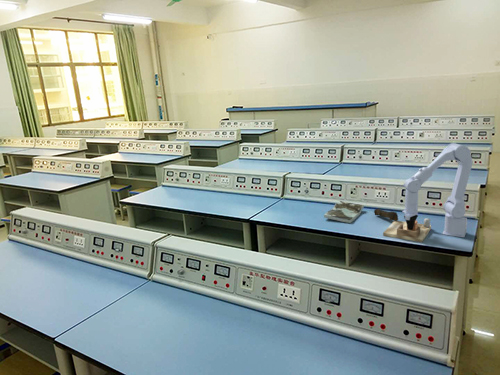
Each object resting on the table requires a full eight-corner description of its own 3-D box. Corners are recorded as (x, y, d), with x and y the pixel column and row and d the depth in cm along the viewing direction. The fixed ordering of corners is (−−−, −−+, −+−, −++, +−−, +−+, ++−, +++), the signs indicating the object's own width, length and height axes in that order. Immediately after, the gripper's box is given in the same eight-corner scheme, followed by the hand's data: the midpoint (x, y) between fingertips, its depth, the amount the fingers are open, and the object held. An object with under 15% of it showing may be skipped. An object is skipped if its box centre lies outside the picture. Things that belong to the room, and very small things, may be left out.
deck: (431, 229, 189) (431, 219, 188) (421, 242, 174) (422, 232, 173) (394, 223, 200) (394, 215, 199) (383, 236, 184) (383, 227, 183)
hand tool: (374, 215, 214) (373, 208, 213) (380, 214, 215) (379, 206, 214) (393, 222, 196) (392, 214, 195) (400, 221, 196) (399, 212, 196)
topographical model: (350, 224, 205) (350, 215, 203) (324, 221, 213) (324, 212, 212) (363, 210, 225) (363, 202, 224) (339, 208, 234) (339, 200, 232)
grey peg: (430, 226, 188) (430, 218, 187) (429, 227, 185) (429, 220, 184) (424, 225, 189) (424, 217, 188) (423, 227, 187) (423, 219, 186)
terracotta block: (417, 228, 186) (417, 220, 185) (415, 230, 183) (415, 223, 182) (408, 227, 189) (409, 219, 188) (406, 229, 185) (407, 222, 185)
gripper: (406, 198, 188) (405, 223, 191) (398, 206, 176) (397, 233, 180) (421, 199, 183) (420, 225, 187) (414, 208, 172) (413, 235, 176)
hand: (410, 229), depth 183 cm, fingers closed
